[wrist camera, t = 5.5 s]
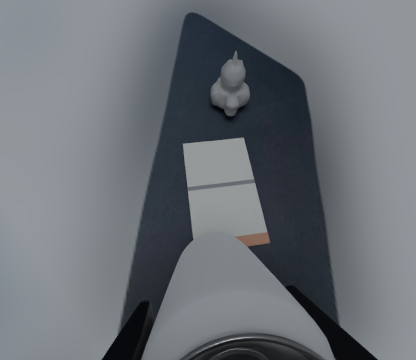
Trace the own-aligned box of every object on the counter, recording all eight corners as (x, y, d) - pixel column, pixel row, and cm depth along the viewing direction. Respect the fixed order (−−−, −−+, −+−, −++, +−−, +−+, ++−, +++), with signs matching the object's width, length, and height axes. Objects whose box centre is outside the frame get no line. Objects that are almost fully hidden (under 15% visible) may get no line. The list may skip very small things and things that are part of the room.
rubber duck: (243, 90, 31) (257, 37, 24) (248, 124, 29) (264, 76, 21) (209, 90, 31) (212, 36, 23) (210, 124, 28) (214, 76, 21)
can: (244, 223, 17) (350, 285, 5) (263, 301, 16) (438, 595, 4) (169, 241, 16) (81, 357, 4) (186, 321, 16) (137, 701, 4)
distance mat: (269, 243, 22) (270, 243, 22) (194, 254, 21) (194, 254, 21) (243, 138, 28) (243, 137, 27) (182, 144, 27) (182, 143, 27)
